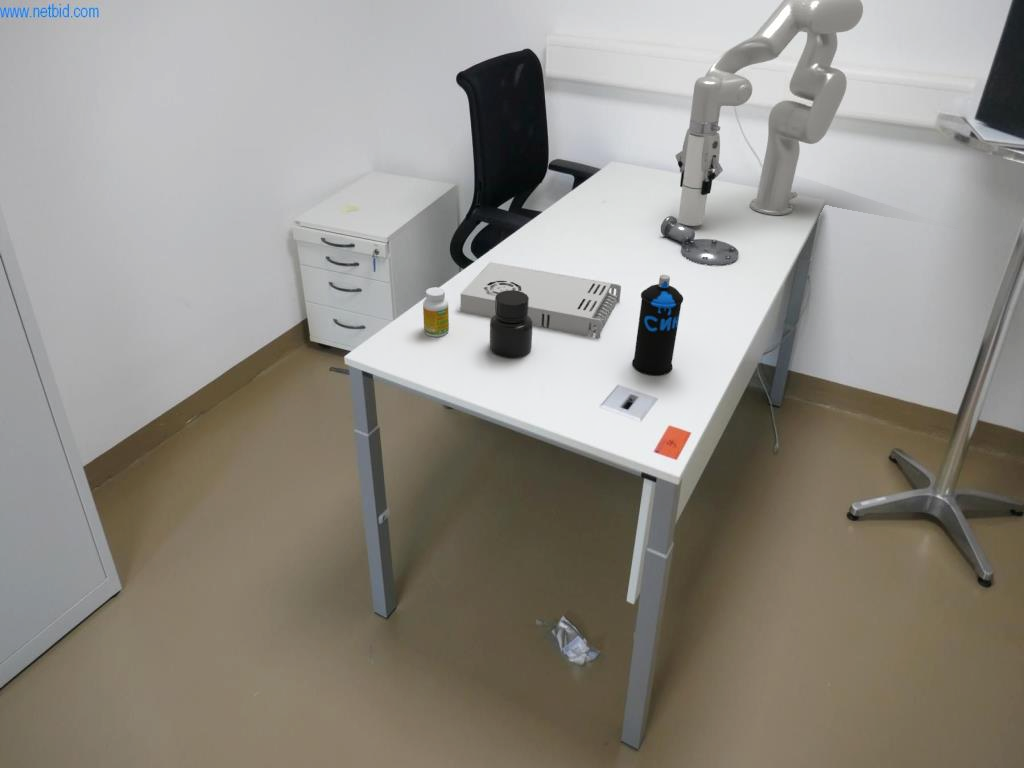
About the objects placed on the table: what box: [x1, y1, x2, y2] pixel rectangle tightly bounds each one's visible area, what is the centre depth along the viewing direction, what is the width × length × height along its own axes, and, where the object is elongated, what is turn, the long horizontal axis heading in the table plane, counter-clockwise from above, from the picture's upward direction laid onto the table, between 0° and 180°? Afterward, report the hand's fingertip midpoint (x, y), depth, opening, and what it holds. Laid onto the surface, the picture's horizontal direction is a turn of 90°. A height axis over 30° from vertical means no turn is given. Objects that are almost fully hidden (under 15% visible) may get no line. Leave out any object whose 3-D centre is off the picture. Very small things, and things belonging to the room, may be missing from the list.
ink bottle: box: [489, 290, 533, 359], centre depth 163 cm, size 10×9×12 cm
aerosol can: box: [631, 274, 684, 376], centre depth 156 cm, size 8×8×20 cm
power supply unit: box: [460, 261, 622, 338], centre depth 182 cm, size 19×33×5 cm, turn 70°
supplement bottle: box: [422, 286, 450, 338], centre depth 169 cm, size 5×5×10 cm
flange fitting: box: [660, 215, 739, 266], centre depth 212 cm, size 23×15×6 cm, turn 37°
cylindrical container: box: [677, 133, 710, 226], centre depth 220 cm, size 7×7×25 cm
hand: (694, 189), depth 221 cm, fingers closed on cylindrical container, 7 cm apart
